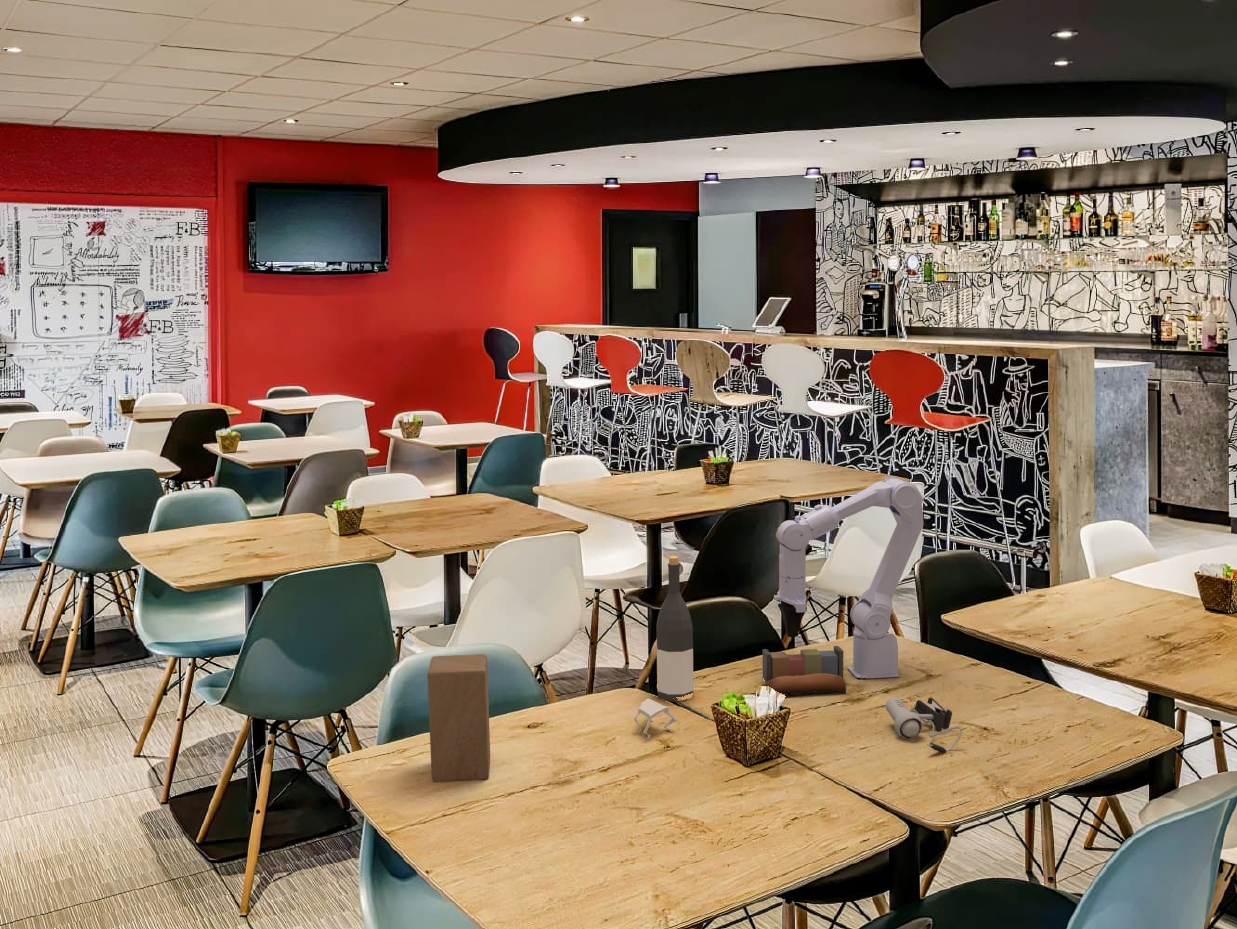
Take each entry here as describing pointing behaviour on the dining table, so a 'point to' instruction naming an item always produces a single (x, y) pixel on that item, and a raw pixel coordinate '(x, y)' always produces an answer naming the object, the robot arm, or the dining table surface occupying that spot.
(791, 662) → the book row
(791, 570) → the robot arm
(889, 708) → the clip-on lamp
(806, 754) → the dining table surface
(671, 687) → the wine bottle
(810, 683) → the sunglasses case
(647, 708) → the grey legged block
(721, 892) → the dining table surface
